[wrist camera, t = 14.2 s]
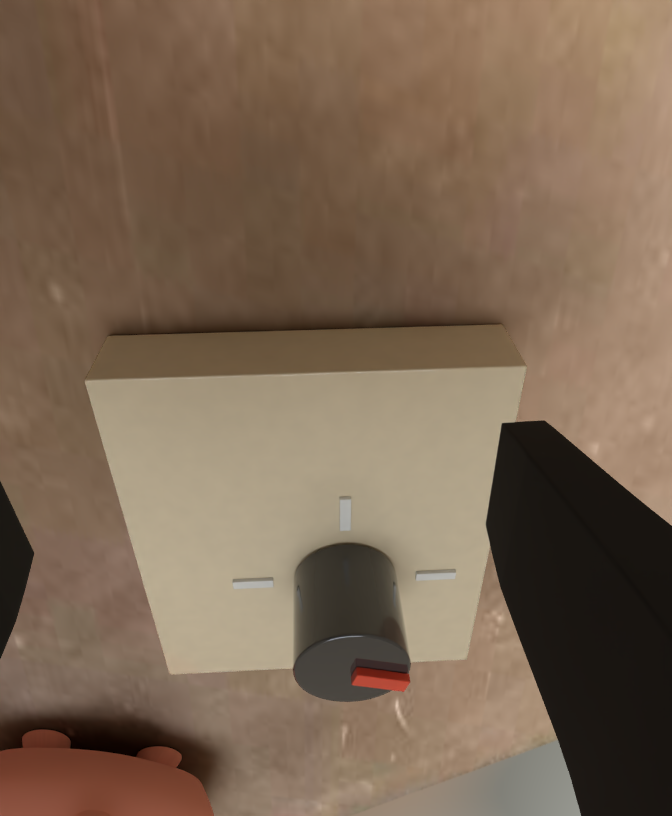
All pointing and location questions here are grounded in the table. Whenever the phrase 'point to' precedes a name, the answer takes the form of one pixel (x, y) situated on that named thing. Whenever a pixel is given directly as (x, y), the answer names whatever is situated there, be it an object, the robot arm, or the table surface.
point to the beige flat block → (303, 474)
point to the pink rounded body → (95, 781)
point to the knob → (348, 625)
